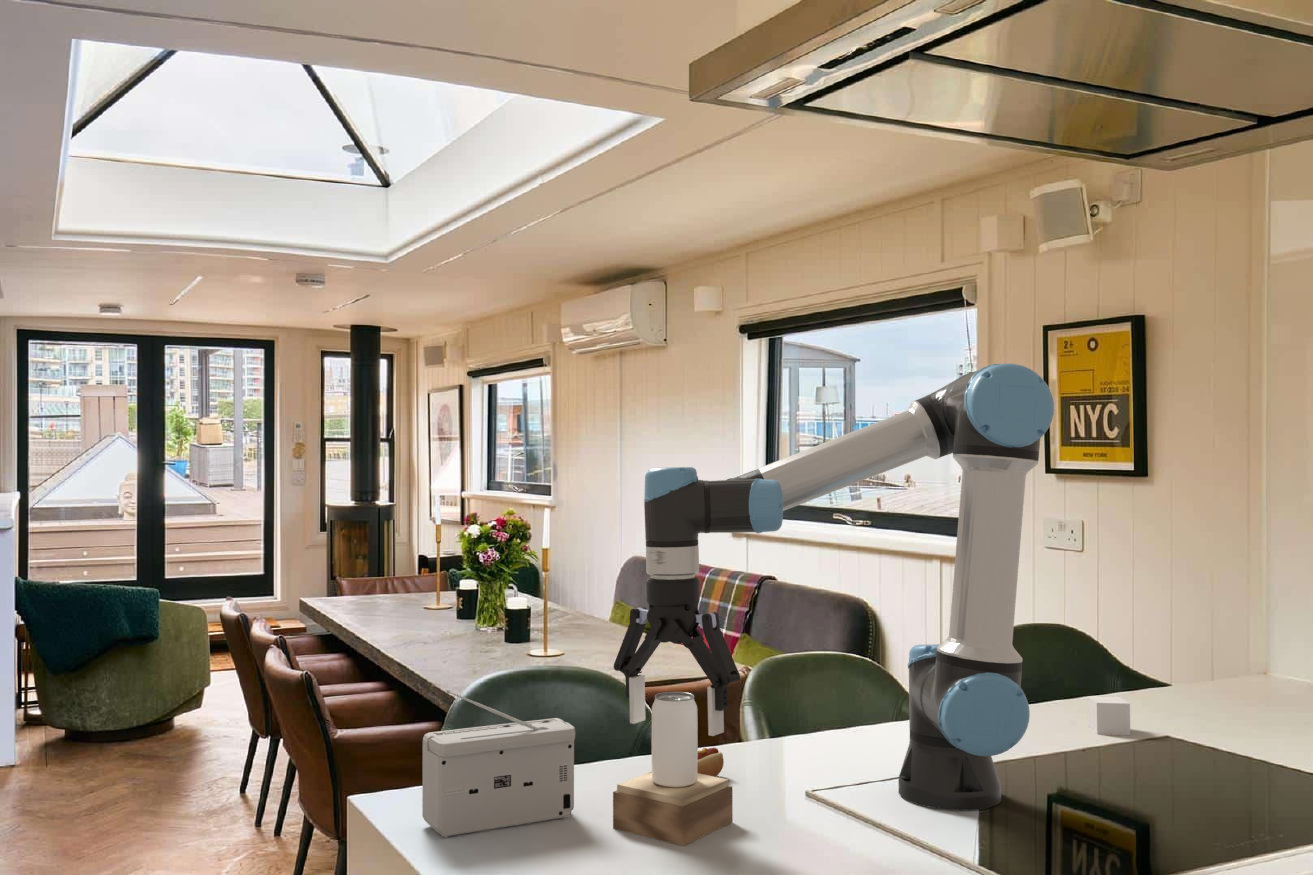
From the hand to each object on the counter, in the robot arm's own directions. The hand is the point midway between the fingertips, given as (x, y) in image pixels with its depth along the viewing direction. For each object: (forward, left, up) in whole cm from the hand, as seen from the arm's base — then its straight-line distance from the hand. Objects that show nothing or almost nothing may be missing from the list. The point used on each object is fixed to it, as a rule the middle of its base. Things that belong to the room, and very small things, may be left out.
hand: (675, 727), depth 149 cm
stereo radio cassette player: (+21, +14, -14) cm, 29 cm away
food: (+10, -18, -14) cm, 25 cm away
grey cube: (-35, -94, -14) cm, 101 cm away
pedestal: (0, 0, -13) cm, 14 cm away
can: (0, 0, -8) cm, 8 cm away
